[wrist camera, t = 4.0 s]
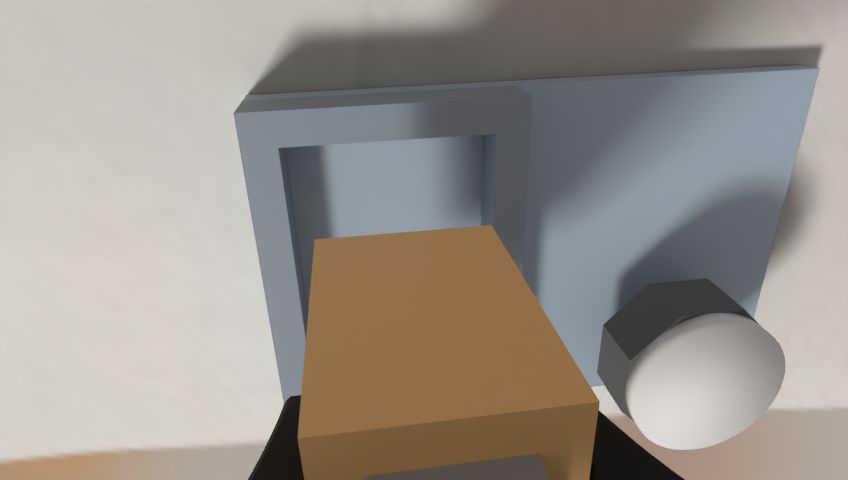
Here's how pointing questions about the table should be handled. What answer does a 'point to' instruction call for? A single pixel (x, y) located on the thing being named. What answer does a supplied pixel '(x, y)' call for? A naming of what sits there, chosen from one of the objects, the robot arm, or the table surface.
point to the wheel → (689, 364)
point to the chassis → (532, 184)
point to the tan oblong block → (436, 366)
